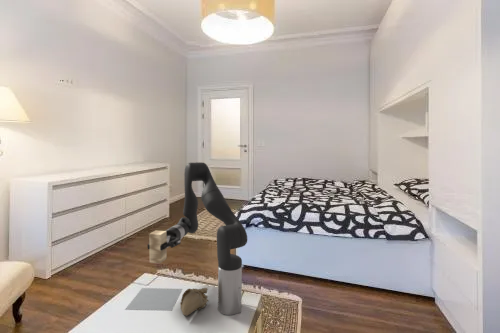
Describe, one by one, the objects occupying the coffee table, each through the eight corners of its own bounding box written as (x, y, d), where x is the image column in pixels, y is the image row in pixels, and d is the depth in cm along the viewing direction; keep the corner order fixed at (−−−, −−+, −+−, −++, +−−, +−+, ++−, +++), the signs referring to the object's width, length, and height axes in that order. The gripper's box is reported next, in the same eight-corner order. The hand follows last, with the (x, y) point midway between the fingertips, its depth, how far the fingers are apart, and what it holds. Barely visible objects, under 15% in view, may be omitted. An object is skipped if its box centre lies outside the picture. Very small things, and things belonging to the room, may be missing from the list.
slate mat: (182, 289, 117) (182, 288, 117) (171, 311, 101) (171, 310, 101) (142, 289, 117) (142, 288, 117) (124, 310, 101) (124, 309, 101)
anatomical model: (199, 298, 95) (213, 283, 110) (171, 297, 97) (188, 282, 112) (199, 319, 95) (213, 301, 109) (172, 318, 97) (189, 300, 111)
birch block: (166, 258, 113) (166, 231, 113) (160, 263, 108) (160, 234, 108) (155, 257, 114) (155, 230, 113) (149, 262, 109) (149, 233, 108)
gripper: (159, 225, 126) (138, 237, 109) (188, 227, 123) (171, 239, 107) (160, 241, 126) (139, 255, 110) (188, 243, 124) (171, 258, 107)
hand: (154, 247), depth 108 cm, fingers closed on birch block, 5 cm apart
